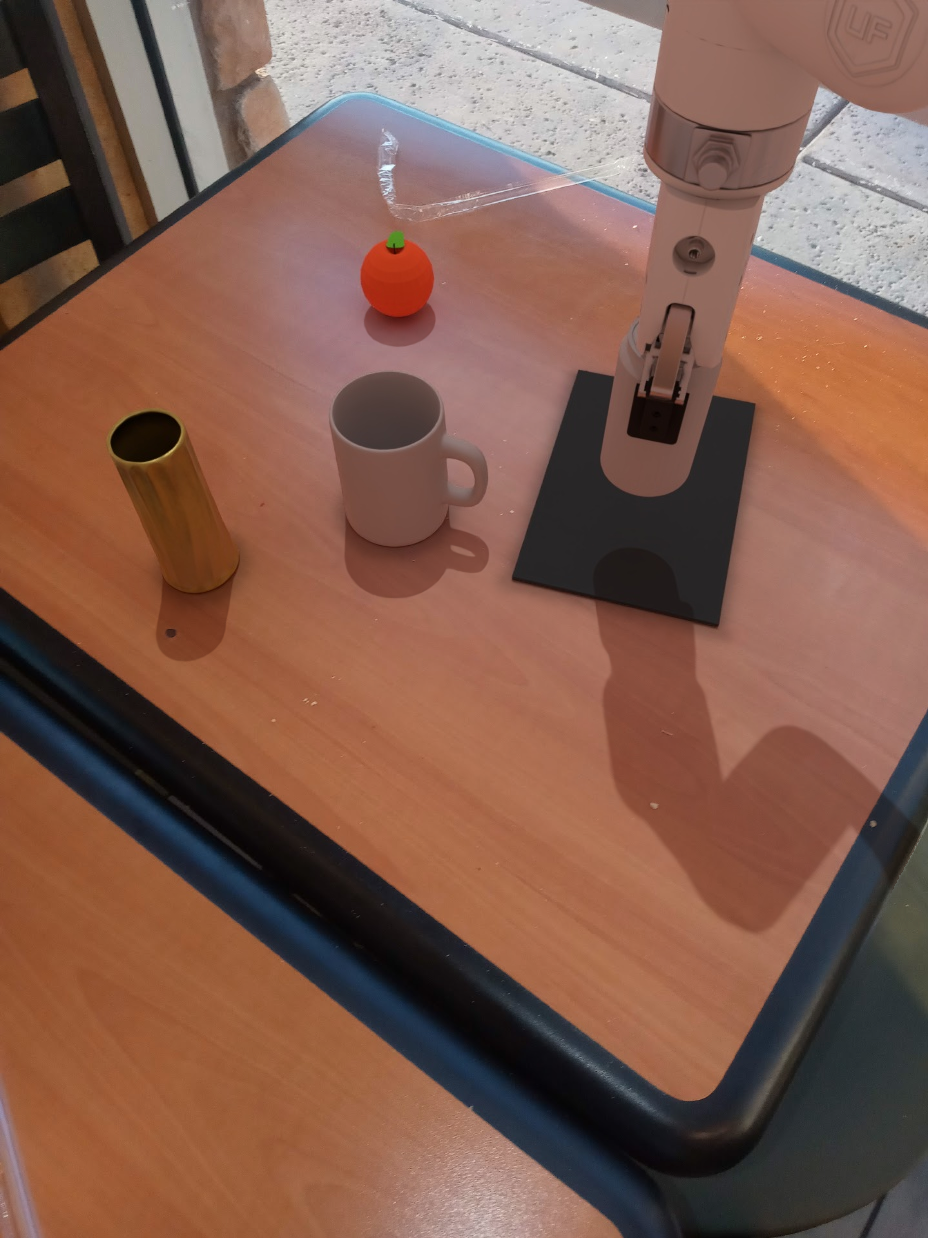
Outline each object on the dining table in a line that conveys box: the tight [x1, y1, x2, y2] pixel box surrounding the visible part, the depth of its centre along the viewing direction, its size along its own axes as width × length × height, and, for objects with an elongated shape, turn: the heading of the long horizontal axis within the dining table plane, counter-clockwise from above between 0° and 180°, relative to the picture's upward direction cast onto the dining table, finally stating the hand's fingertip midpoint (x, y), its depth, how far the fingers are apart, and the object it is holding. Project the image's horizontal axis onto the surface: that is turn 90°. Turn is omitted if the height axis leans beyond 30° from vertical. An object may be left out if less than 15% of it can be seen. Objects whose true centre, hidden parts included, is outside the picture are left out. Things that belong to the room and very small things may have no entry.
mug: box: [328, 369, 489, 548], centre depth 70 cm, size 12×8×11 cm
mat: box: [511, 369, 756, 628], centre depth 76 cm, size 24×16×1 cm, turn 164°
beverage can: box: [600, 315, 723, 497], centre depth 60 cm, size 6×6×12 cm
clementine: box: [359, 230, 435, 318], centre depth 85 cm, size 8×7×7 cm
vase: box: [105, 407, 240, 594], centre depth 66 cm, size 6×6×14 cm
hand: (661, 396), depth 59 cm, fingers closed on beverage can, 6 cm apart
